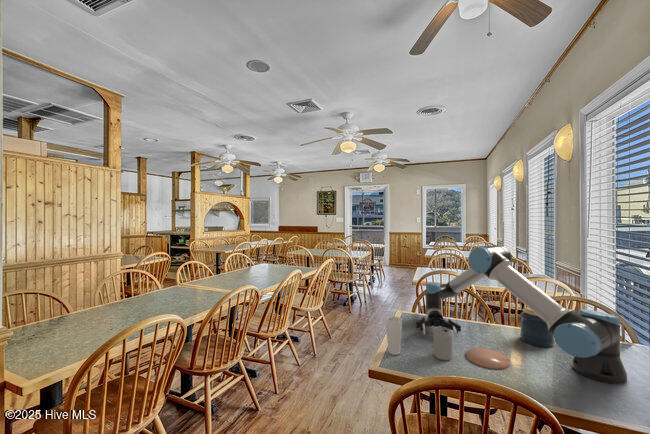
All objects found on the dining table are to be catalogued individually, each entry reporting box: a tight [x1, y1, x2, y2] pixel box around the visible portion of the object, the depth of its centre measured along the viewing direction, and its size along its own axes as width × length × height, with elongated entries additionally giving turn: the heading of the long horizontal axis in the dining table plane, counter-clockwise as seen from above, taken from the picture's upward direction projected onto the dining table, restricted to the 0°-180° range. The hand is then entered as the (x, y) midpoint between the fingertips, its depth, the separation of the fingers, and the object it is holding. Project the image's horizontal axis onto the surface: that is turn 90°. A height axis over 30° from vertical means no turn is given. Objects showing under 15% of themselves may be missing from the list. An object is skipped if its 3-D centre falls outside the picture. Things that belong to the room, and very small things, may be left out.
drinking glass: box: [385, 315, 403, 356], centre depth 129 cm, size 7×7×15 cm
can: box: [433, 326, 454, 362], centre depth 124 cm, size 8×8×12 cm
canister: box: [519, 306, 555, 348], centre depth 138 cm, size 13×13×18 cm
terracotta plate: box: [465, 347, 511, 370], centre depth 122 cm, size 16×16×1 cm
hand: (440, 333), depth 134 cm, fingers open, 13 cm apart
